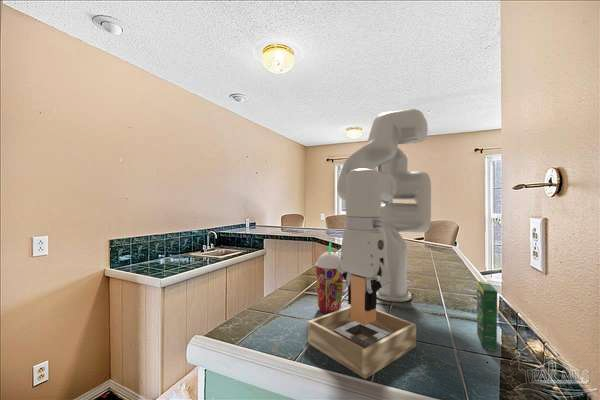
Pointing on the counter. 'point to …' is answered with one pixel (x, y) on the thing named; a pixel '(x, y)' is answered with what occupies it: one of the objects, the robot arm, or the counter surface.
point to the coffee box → (487, 315)
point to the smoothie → (329, 282)
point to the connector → (360, 301)
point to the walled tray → (357, 352)
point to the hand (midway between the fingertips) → (361, 305)
